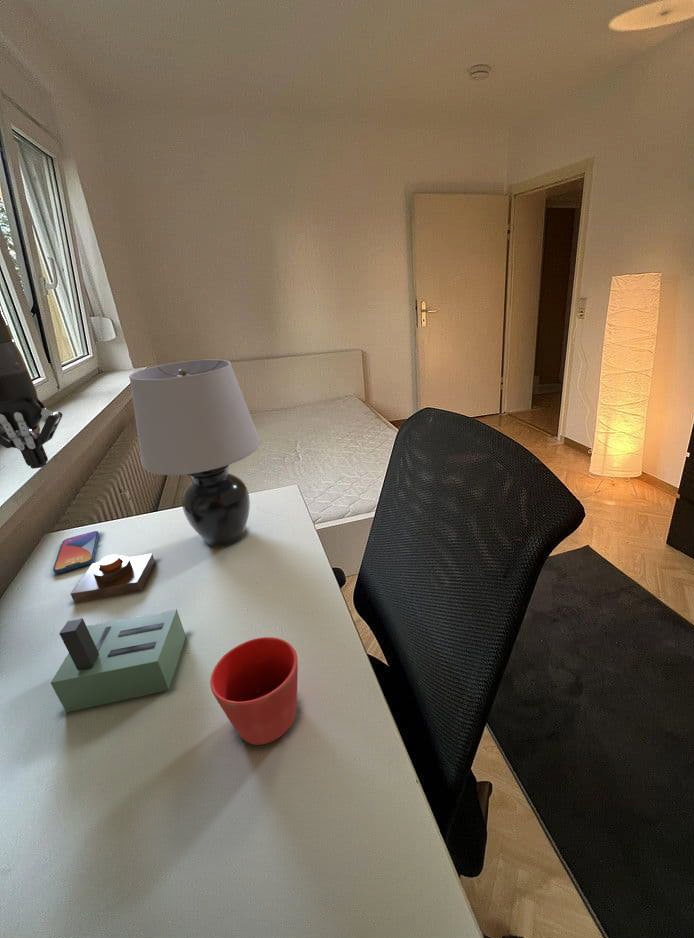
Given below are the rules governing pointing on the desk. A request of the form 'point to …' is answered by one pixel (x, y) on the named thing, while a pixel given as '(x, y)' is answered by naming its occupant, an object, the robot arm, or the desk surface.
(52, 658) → the desk surface
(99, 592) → the box
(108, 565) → the round button
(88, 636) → the slide button
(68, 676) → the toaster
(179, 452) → the lamp
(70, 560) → the smartphone
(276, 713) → the flower pot
